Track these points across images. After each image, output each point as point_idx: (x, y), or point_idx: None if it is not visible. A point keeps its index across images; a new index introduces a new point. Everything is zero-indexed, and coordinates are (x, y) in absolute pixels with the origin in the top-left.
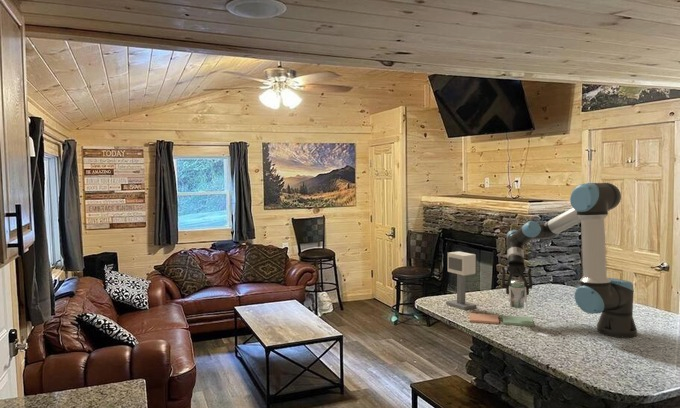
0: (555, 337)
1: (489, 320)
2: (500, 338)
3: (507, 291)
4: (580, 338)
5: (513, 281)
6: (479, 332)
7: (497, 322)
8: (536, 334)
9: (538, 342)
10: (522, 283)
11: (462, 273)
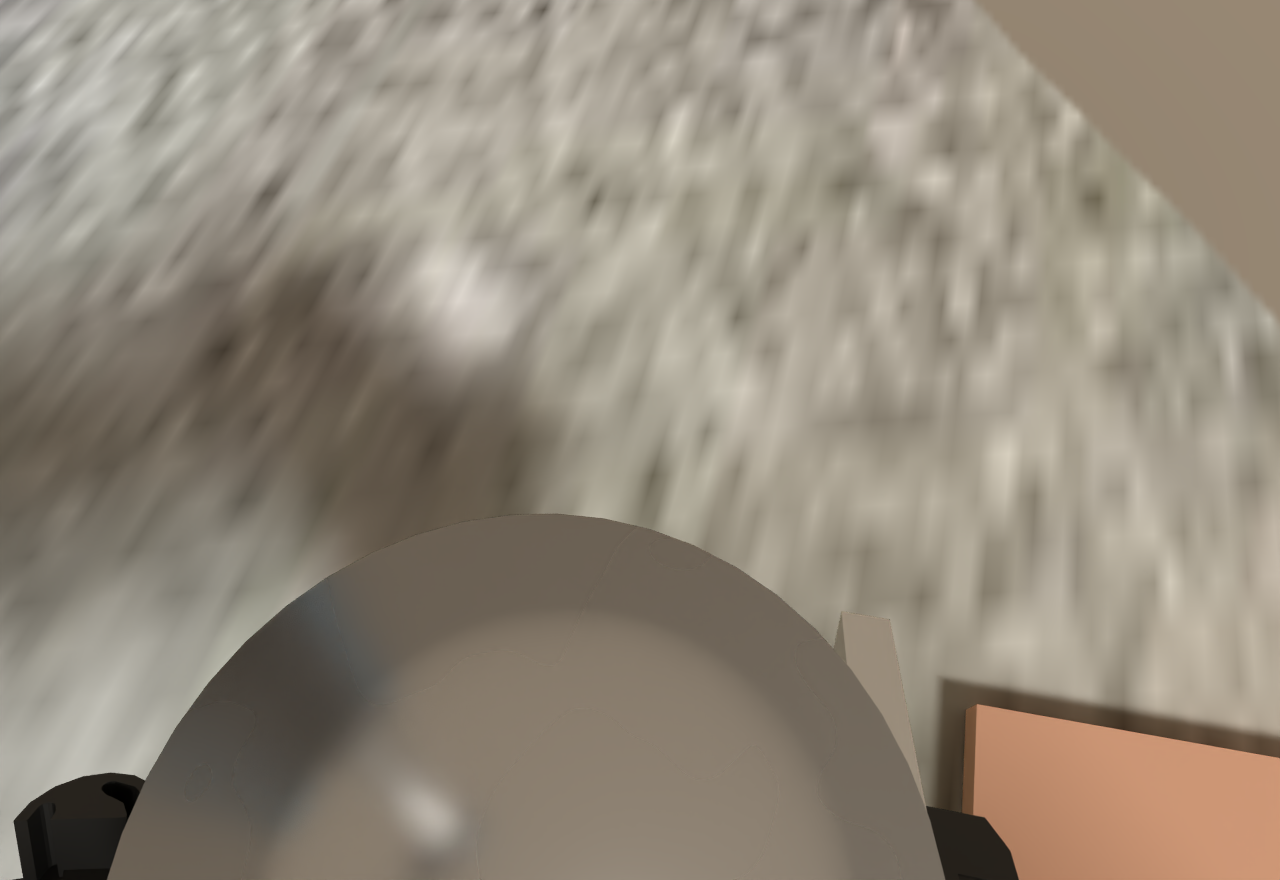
0: (351, 207)
1: (1138, 774)
2: (994, 138)
3: (968, 845)
4: (85, 196)
5: (810, 749)
6: (1251, 309)
7: (994, 709)
8: (533, 286)
9: (605, 63)
10: (372, 572)
11: None
